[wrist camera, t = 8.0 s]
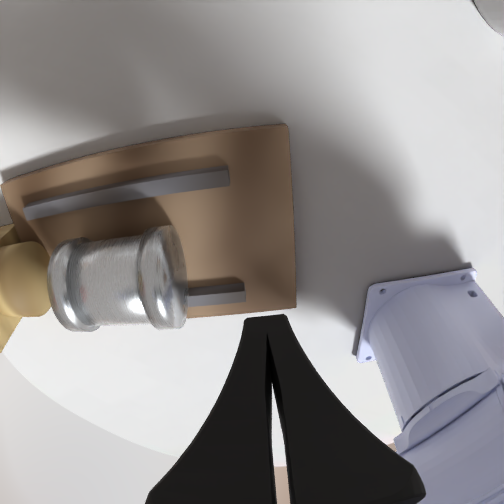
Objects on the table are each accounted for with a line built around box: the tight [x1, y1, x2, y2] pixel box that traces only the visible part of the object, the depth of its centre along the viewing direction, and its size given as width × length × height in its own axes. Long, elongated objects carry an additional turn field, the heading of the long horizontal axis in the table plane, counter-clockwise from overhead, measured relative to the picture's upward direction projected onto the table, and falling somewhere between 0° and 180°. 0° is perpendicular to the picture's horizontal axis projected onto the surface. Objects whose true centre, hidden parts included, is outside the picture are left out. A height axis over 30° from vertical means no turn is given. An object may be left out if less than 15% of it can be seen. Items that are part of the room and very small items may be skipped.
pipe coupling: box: [47, 225, 188, 332], centre depth 15 cm, size 6×5×5 cm
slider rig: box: [0, 124, 296, 353], centre depth 14 cm, size 22×11×9 cm, turn 96°
